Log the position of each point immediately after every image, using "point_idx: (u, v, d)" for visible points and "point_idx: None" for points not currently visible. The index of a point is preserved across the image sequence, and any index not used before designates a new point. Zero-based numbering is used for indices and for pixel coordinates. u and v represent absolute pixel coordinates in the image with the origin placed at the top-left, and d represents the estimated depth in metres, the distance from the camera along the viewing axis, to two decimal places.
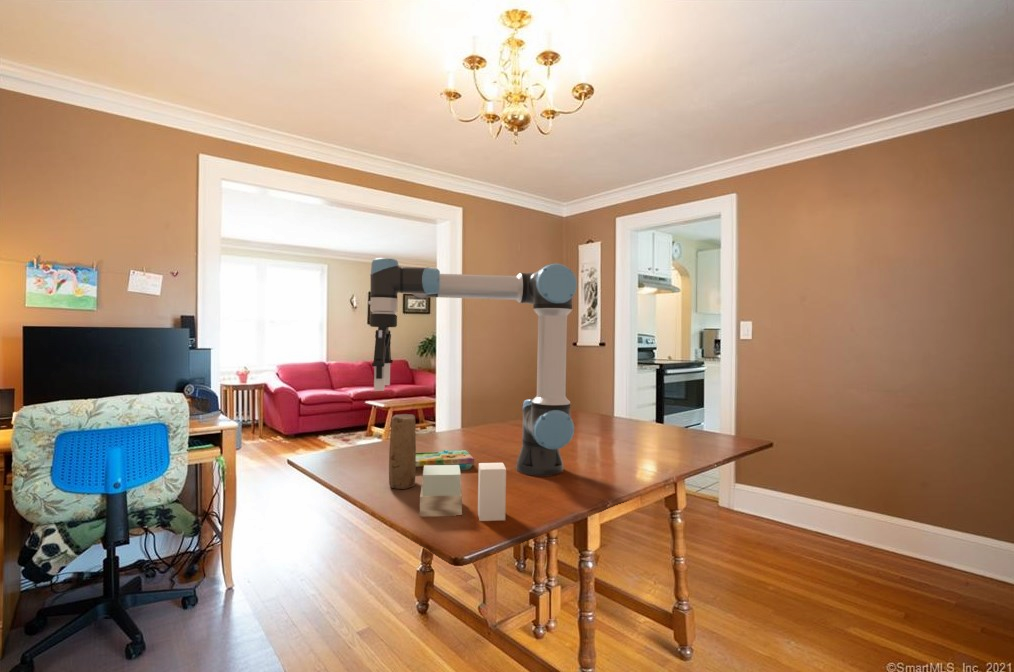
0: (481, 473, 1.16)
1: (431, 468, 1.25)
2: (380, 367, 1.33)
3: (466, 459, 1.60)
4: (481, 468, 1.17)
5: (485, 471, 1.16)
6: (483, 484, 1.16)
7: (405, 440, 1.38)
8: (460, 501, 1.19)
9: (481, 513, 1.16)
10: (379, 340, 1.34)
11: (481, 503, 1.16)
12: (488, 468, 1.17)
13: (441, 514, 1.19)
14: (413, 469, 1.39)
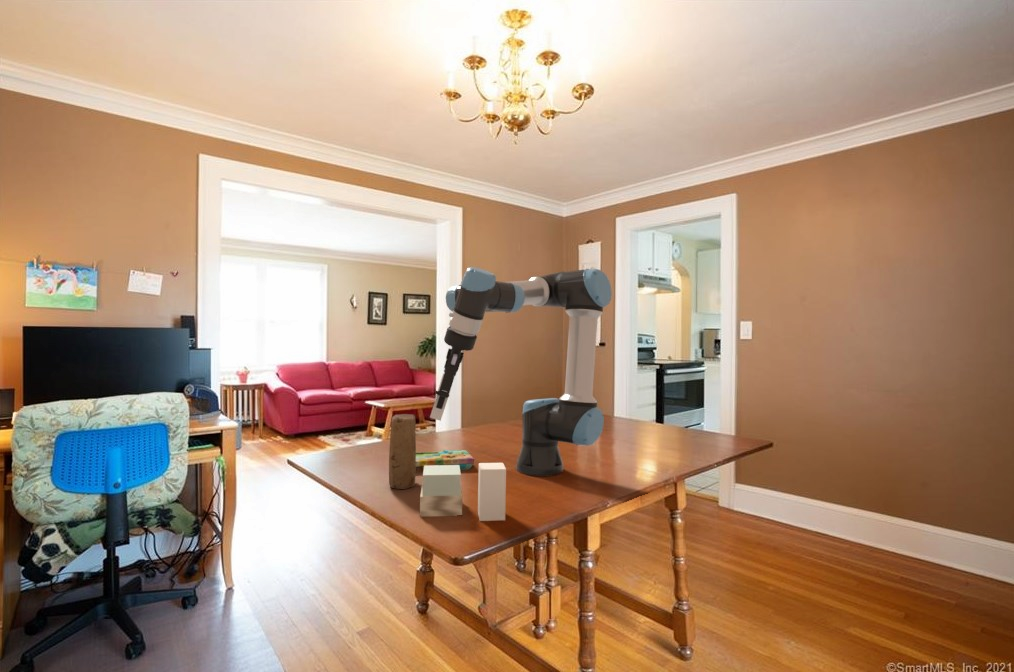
0: (481, 473, 1.16)
1: (431, 468, 1.24)
2: (443, 398, 1.17)
3: (466, 459, 1.60)
4: (481, 468, 1.17)
5: (485, 471, 1.16)
6: (483, 484, 1.16)
7: (405, 440, 1.38)
8: (460, 501, 1.19)
9: (481, 513, 1.16)
10: (451, 368, 1.16)
11: (481, 503, 1.16)
12: (488, 468, 1.17)
13: (442, 514, 1.19)
14: (413, 469, 1.39)
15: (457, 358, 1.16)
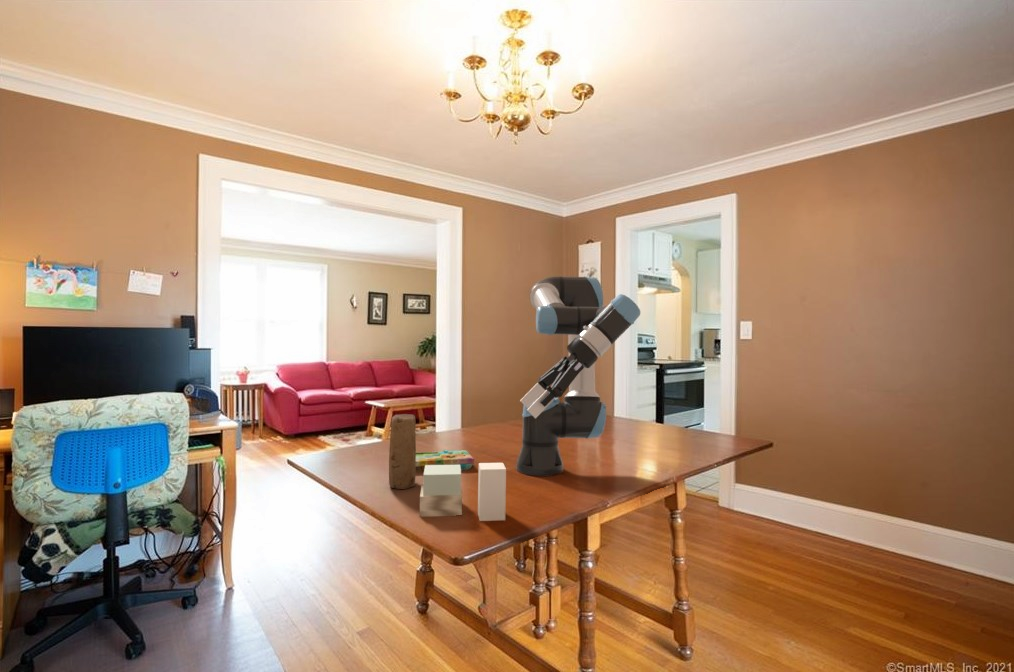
0: (481, 473, 1.16)
1: (432, 468, 1.25)
2: (553, 396, 1.13)
3: (466, 459, 1.60)
4: (481, 468, 1.17)
5: (485, 471, 1.16)
6: (483, 484, 1.16)
7: (405, 440, 1.38)
8: (460, 501, 1.19)
9: (481, 513, 1.16)
10: (572, 371, 1.14)
11: (481, 503, 1.16)
12: (488, 468, 1.17)
13: (441, 514, 1.19)
14: (413, 469, 1.39)
15: (581, 366, 1.15)
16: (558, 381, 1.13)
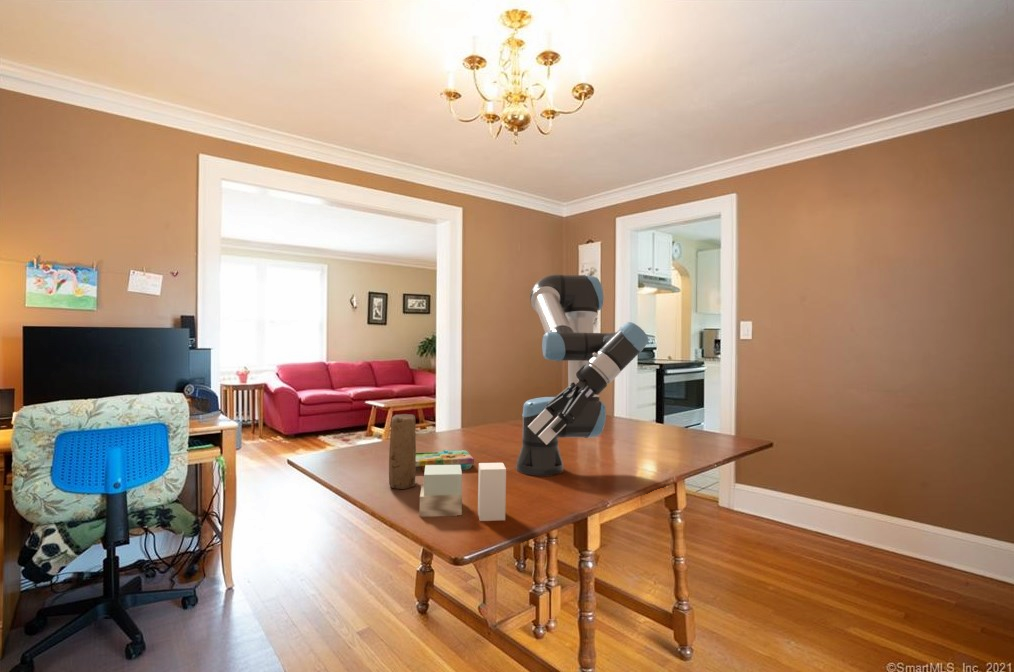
0: (481, 473, 1.16)
1: (432, 468, 1.25)
2: (564, 422, 1.13)
3: (466, 459, 1.60)
4: (481, 468, 1.17)
5: (485, 471, 1.16)
6: (483, 484, 1.16)
7: (405, 440, 1.38)
8: (460, 501, 1.19)
9: (481, 513, 1.16)
10: (583, 398, 1.15)
11: (481, 503, 1.16)
12: (488, 468, 1.17)
13: (441, 514, 1.19)
14: (413, 469, 1.39)
15: (592, 392, 1.16)
16: (570, 407, 1.13)
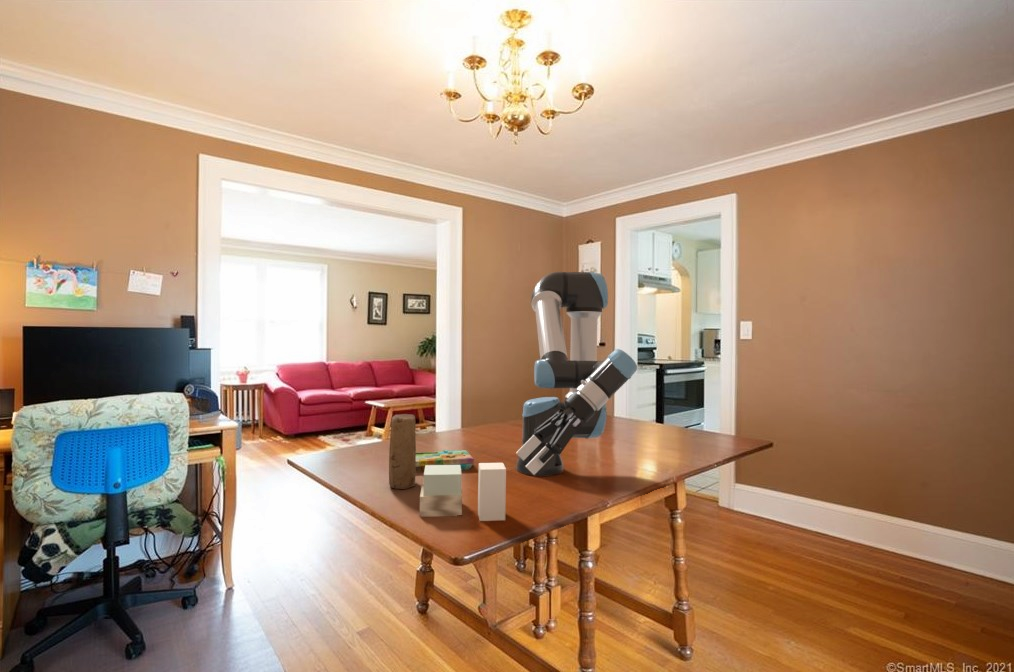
0: (481, 473, 1.16)
1: (432, 468, 1.25)
2: (552, 453, 1.13)
3: (466, 459, 1.60)
4: (481, 468, 1.17)
5: (485, 471, 1.16)
6: (483, 484, 1.16)
7: (405, 440, 1.38)
8: (460, 501, 1.19)
9: (481, 513, 1.16)
10: (571, 428, 1.14)
11: (481, 503, 1.16)
12: (488, 468, 1.17)
13: (441, 514, 1.19)
14: (413, 469, 1.39)
15: (580, 422, 1.15)
16: (557, 438, 1.13)
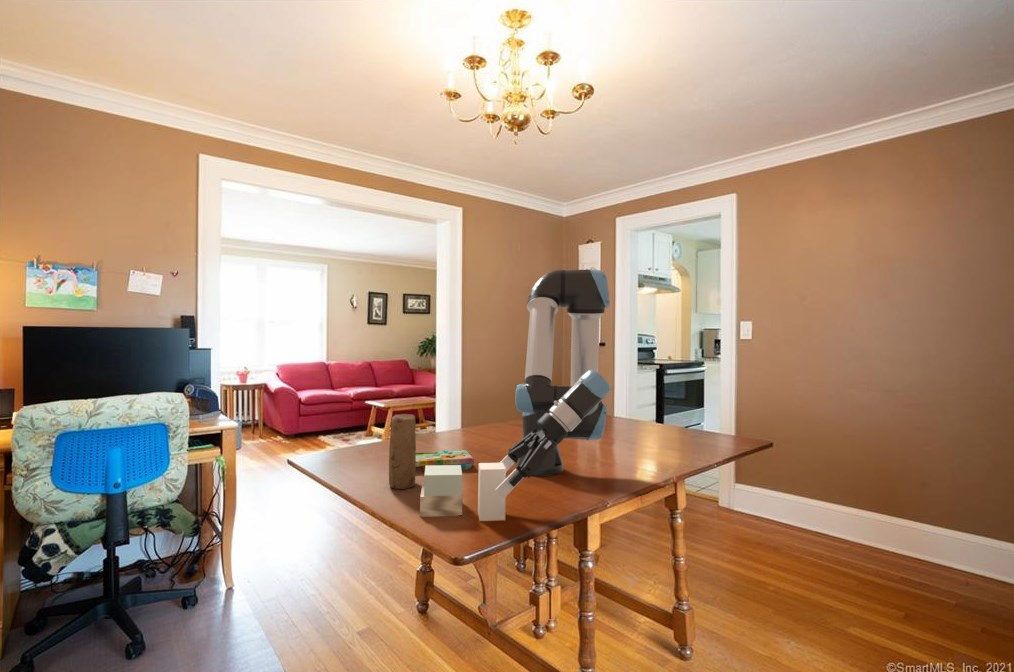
0: (481, 473, 1.16)
1: (433, 468, 1.25)
2: (522, 476, 1.12)
3: (466, 459, 1.60)
4: (481, 468, 1.17)
5: (485, 471, 1.16)
6: (483, 484, 1.16)
7: (405, 440, 1.38)
8: (460, 501, 1.19)
9: (481, 513, 1.16)
10: (542, 450, 1.13)
11: (481, 503, 1.16)
12: (488, 468, 1.17)
13: (442, 514, 1.19)
14: (413, 469, 1.39)
15: (551, 444, 1.14)
16: (527, 461, 1.12)
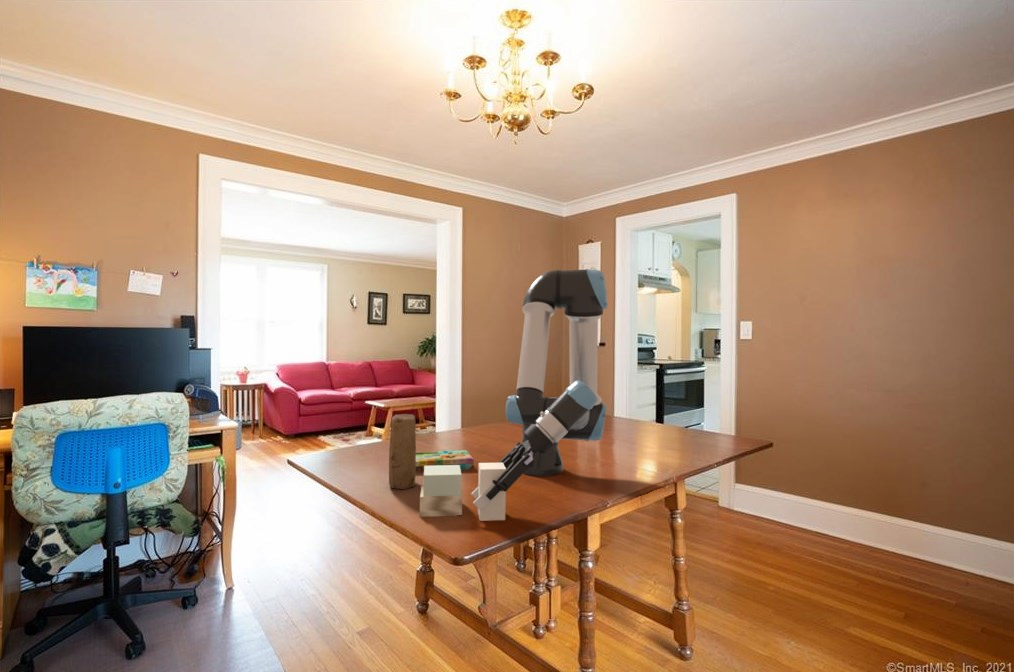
0: (481, 473, 1.16)
1: (432, 468, 1.25)
2: (499, 490, 1.15)
3: (466, 459, 1.60)
4: (481, 468, 1.17)
5: (485, 471, 1.16)
6: (483, 484, 1.16)
7: (405, 440, 1.38)
8: (460, 501, 1.19)
9: (481, 513, 1.16)
10: (521, 466, 1.14)
11: None
12: (488, 468, 1.17)
13: (441, 514, 1.19)
14: (413, 469, 1.39)
15: (532, 460, 1.14)
16: (505, 475, 1.14)
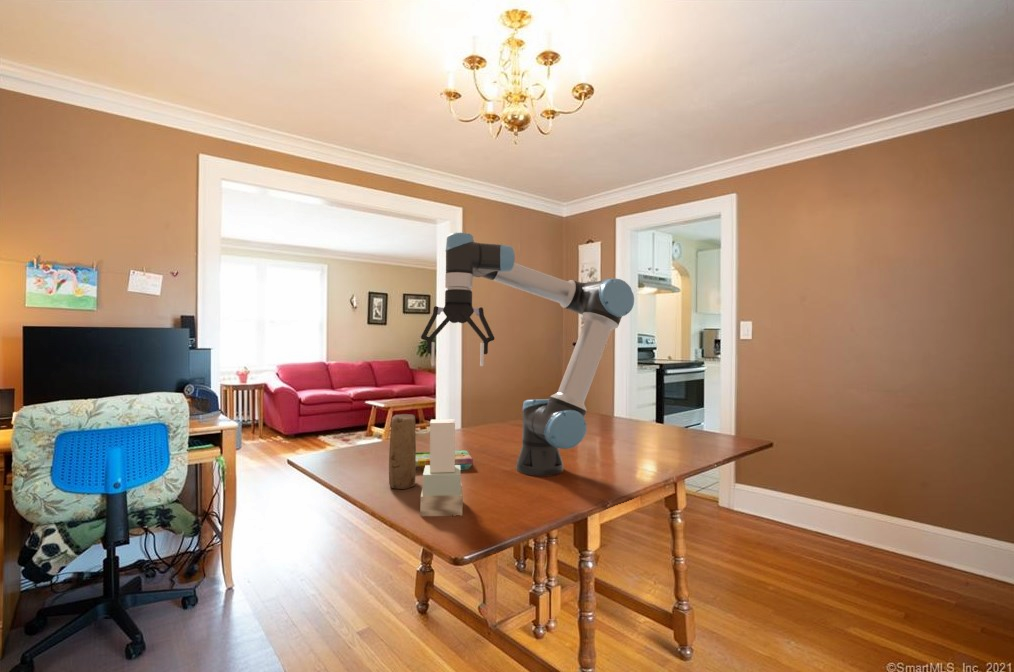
0: (431, 426, 1.21)
1: None
2: (427, 342, 1.37)
3: (465, 459, 1.59)
4: (431, 422, 1.22)
5: (435, 425, 1.21)
6: (433, 437, 1.21)
7: (405, 440, 1.38)
8: (461, 501, 1.19)
9: (431, 465, 1.20)
10: None
11: (431, 455, 1.20)
12: (438, 422, 1.22)
13: (442, 514, 1.19)
14: (413, 469, 1.39)
15: (434, 307, 1.37)
16: None
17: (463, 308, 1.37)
